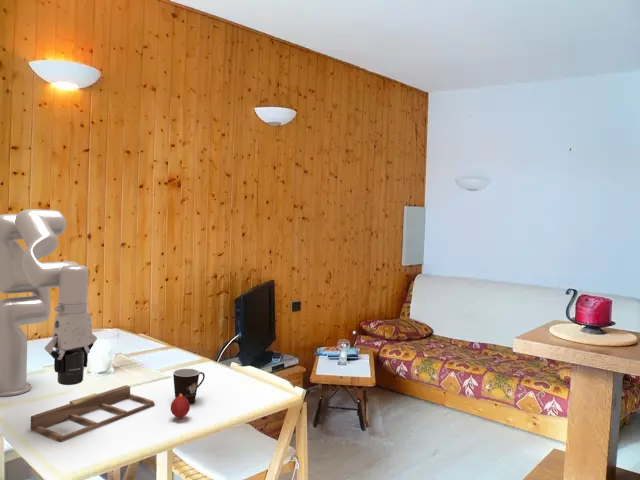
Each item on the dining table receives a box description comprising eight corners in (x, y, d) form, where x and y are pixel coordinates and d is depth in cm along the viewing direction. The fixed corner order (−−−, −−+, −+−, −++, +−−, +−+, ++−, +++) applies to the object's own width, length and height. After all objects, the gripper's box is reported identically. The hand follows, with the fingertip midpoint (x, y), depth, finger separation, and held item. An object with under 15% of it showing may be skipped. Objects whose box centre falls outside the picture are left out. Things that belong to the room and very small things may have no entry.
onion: (172, 414, 172) (173, 390, 172) (190, 415, 173) (191, 390, 172) (168, 422, 166) (169, 396, 166) (187, 422, 167) (188, 397, 166)
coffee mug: (175, 407, 178) (176, 377, 178) (169, 398, 186) (170, 369, 185) (210, 403, 184) (211, 374, 183) (203, 394, 191) (204, 366, 191)
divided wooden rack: (30, 429, 156) (30, 414, 156) (125, 396, 186) (126, 383, 185) (60, 442, 149) (61, 425, 149) (154, 405, 179) (155, 391, 179)
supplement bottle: (73, 387, 154) (74, 345, 153) (52, 384, 155) (53, 342, 154) (88, 379, 160) (89, 339, 160) (68, 376, 162) (69, 336, 161)
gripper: (52, 314, 147) (51, 379, 148) (107, 306, 162) (105, 365, 163) (36, 310, 151) (34, 373, 152) (90, 302, 166) (88, 360, 167)
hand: (71, 368), depth 158 cm, fingers closed on supplement bottle, 6 cm apart
